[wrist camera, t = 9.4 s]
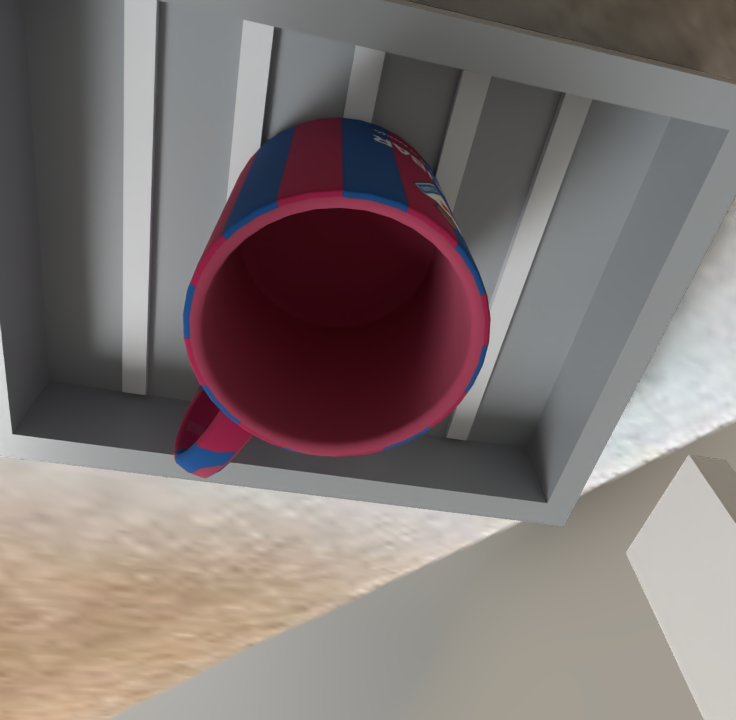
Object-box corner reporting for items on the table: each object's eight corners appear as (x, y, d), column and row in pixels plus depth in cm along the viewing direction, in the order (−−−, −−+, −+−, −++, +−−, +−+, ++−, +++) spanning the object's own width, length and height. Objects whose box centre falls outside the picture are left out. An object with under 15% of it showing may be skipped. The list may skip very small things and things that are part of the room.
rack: (-4, -98, 16) (-101, -115, 13) (702, 72, 19) (786, 96, 15) (35, 380, 24) (-18, 453, 20) (533, 451, 27) (563, 526, 23)
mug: (488, 237, 20) (549, 349, 14) (266, 410, 23) (242, 559, 17) (346, 62, 17) (350, 113, 11) (115, 287, 20) (27, 416, 15)
